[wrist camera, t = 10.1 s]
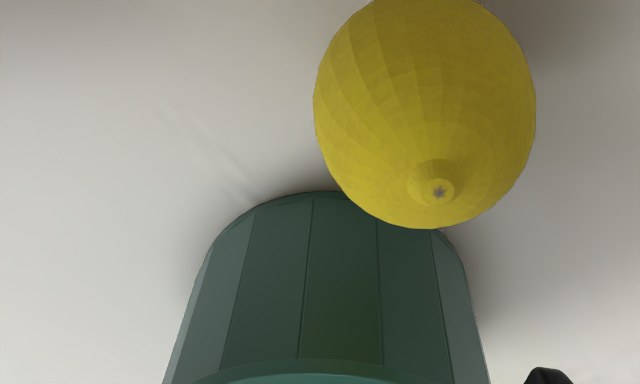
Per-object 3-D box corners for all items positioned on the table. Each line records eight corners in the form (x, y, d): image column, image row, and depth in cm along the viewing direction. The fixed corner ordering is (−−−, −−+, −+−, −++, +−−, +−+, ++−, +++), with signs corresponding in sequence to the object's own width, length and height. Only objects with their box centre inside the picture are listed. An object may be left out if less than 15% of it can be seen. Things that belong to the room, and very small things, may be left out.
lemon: (482, 126, 20) (545, 295, 13) (321, 122, 20) (304, 287, 13) (513, -45, 16) (618, 67, 10) (320, -46, 17) (297, 62, 10)
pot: (146, 282, 25) (71, 460, 18) (351, 136, 20) (349, 304, 14) (319, 409, 29) (309, 587, 23) (518, 314, 25) (576, 503, 18)
